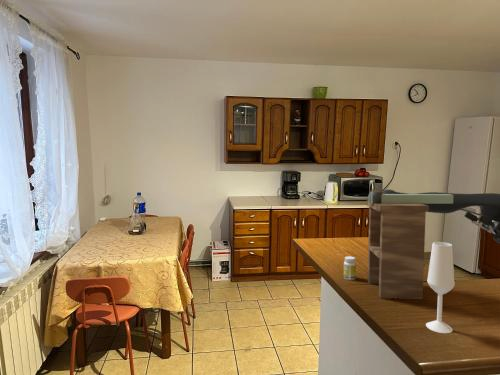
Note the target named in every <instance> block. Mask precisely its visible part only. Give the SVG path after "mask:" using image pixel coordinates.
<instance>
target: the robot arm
mask: <svg viewBox="0 0 500 375" xmlns="http://www.w3.org/2000/svg"><path fill="white" fill-rule="evenodd" d="M381 192H383V194H409V193H406V192H397V191H395V190H393V189H384V190H382V191H381ZM416 194H451V195H453V204H424V203H421V204H424V205H428V206H429V212H428V213H434V214H451V213H455V212H457V211H460V210H463V209H466V208H470V207H481V209H480V214H481V215H479V216H478V215H476V214H474V213H471V212H470V211H466V212H465V214H464V216H463V217H464V218H466V219H468V220H469V221H471V223H472V224H474V225H476V226H478V227H479V228H481V229H483V230H484V231H487V232H488V233H490V234H493V236H492V238H493V240H494V242H496V243H498V244H500V193H494V192H490V193H489V192H488V193H486V192H485V193H484V192H483V193H482V192H481V193H454V192H453V193H452V192H451V193H450V192H436V191H435V192H432V191H431V192H417V193H416Z"/></svg>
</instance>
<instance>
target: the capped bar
mask: <svg viewBox="0 0 500 375" xmlns="http://www.w3.org/2000/svg"><path fill="white" fill-rule="evenodd" d="M368 200H369V203H374V204H381V203H424V204H453V195H451V194H417V193H408V194H383V192H382V191H378V190H376V191H375V190H374V191H373V190H371V191H369V193H368Z"/></svg>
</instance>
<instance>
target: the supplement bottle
mask: <svg viewBox="0 0 500 375" xmlns="http://www.w3.org/2000/svg"><path fill="white" fill-rule="evenodd" d="M356 278H357V263H356V257H354V256H351V255H349V256H348V255H347V256H344V262H343V279H345V280H347V281H348V280H349V281H354V280H356Z"/></svg>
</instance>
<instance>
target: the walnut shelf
mask: <svg viewBox="0 0 500 375" xmlns="http://www.w3.org/2000/svg"><path fill="white" fill-rule="evenodd" d="M366 206H367V207H368V245H367V247H368V251H367V252H368V253H367V254H368V256H367V283H368V284H370V285H372V284H374V285H378V297H379V298H380V299H391V298H395V299H397V298H399V300H400V299H401V300H402V299H403V300H423V299H424V298H423V297H424V272H425V269H424V268H425V246H426V245H425V243H426V242H425V239H426V215H427V214H426V213H430V212H429V206H428V205H424V204H421V203H381V204H374V203H369V199H367V200H366ZM397 300H398V299H397Z"/></svg>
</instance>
